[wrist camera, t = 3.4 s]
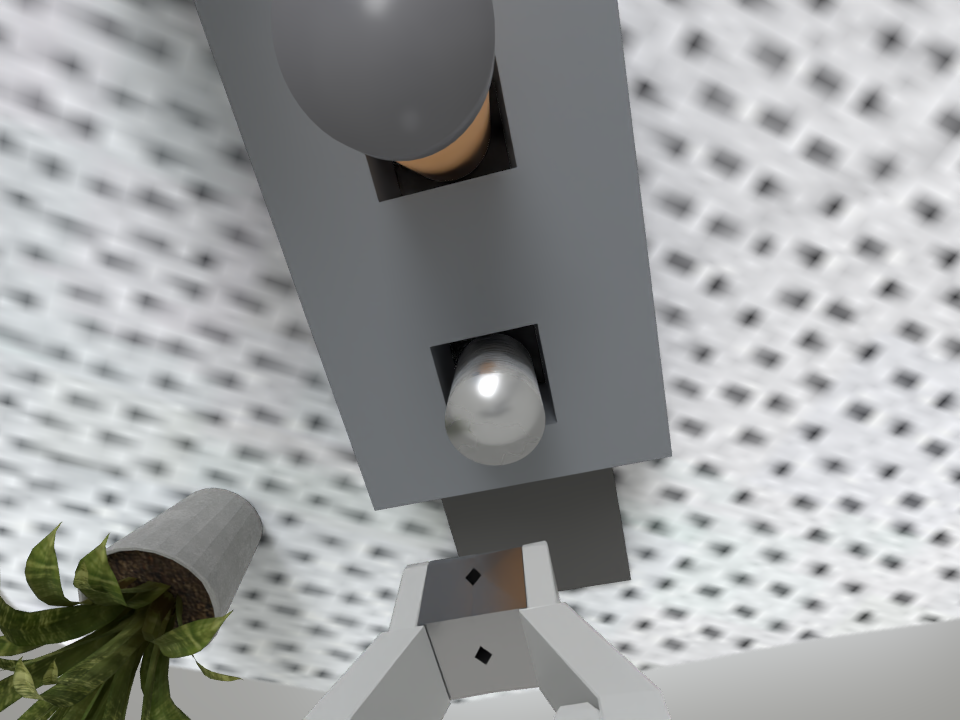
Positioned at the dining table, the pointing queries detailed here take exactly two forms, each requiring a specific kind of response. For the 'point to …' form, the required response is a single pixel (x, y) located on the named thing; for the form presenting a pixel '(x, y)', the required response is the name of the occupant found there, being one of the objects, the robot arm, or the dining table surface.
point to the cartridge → (393, 76)
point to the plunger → (495, 402)
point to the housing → (469, 254)
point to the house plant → (129, 611)
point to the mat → (549, 525)
